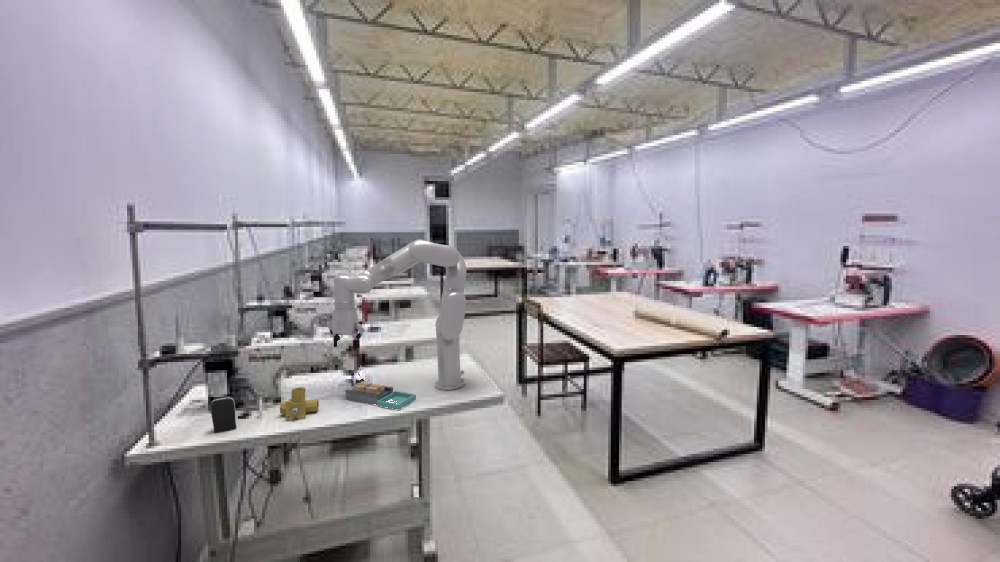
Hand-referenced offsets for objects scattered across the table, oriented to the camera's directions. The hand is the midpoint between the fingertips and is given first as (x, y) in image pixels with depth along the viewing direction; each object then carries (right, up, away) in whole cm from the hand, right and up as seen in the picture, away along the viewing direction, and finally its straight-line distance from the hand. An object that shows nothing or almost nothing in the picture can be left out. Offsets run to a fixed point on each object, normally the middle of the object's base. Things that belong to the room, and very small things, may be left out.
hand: (346, 347), depth 178 cm
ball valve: (-12, -23, -15) cm, 30 cm away
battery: (-33, -25, -25) cm, 48 cm away
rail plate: (+10, -20, -1) cm, 22 cm away
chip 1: (+7, -17, 0) cm, 19 cm away
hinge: (-4, -18, +25) cm, 31 cm away
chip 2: (+12, -17, -2) cm, 21 cm away
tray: (+22, -21, -6) cm, 31 cm away
